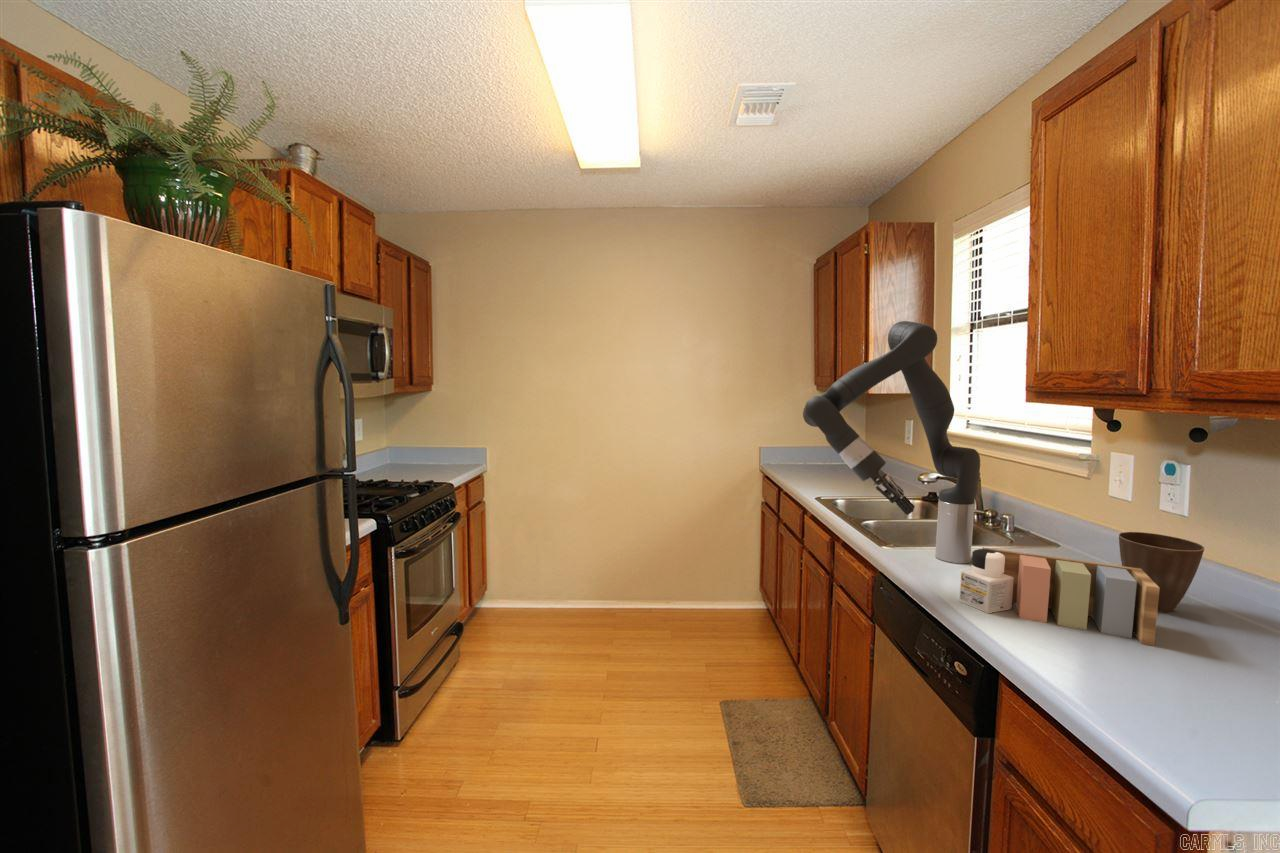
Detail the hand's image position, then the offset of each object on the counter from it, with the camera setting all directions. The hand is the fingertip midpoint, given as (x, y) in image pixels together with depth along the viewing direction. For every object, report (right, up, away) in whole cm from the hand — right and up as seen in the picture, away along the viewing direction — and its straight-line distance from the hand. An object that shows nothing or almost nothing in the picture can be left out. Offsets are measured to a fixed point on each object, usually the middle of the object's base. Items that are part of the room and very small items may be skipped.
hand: (911, 510), depth 144 cm
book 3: (+34, -22, -19) cm, 45 cm away
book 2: (+28, -22, -16) cm, 39 cm away
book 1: (+22, -21, -12) cm, 33 cm away
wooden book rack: (+26, -22, -15) cm, 37 cm away
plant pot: (+54, -22, -7) cm, 59 cm away
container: (+14, -21, -8) cm, 26 cm away
